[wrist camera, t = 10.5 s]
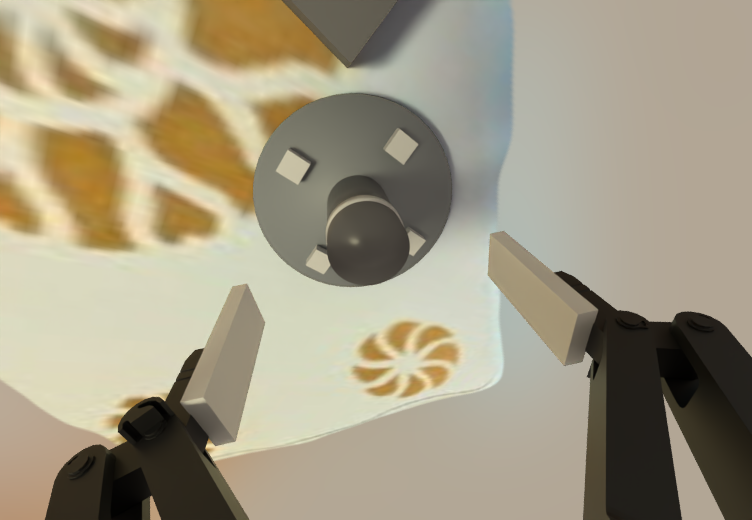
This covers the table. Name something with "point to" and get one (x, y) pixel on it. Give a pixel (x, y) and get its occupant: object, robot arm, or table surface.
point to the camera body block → (342, 22)
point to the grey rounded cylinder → (364, 232)
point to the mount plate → (343, 159)
